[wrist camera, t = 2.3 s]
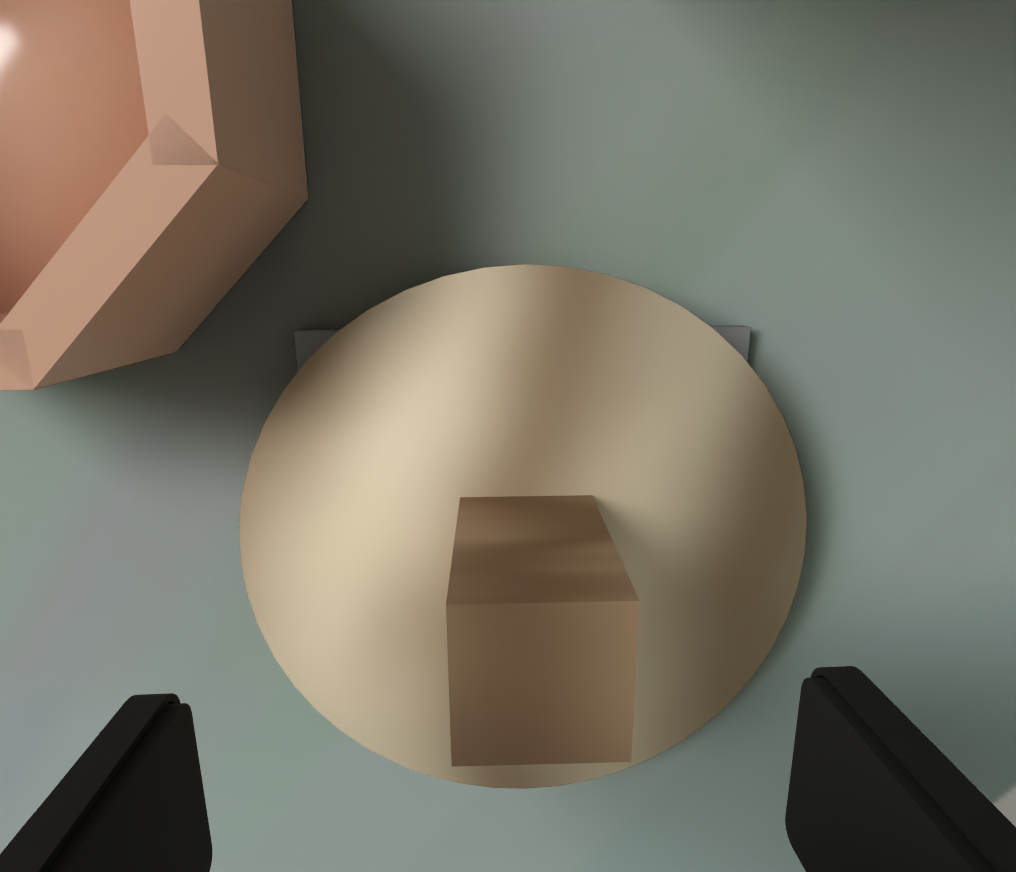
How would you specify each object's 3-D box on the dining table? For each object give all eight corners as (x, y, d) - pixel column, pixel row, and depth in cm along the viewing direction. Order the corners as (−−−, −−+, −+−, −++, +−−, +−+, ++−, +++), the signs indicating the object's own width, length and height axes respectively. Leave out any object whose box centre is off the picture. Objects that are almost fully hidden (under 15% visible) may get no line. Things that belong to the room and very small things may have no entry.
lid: (818, 262, 15) (1027, 259, 9) (760, 754, 19) (884, 976, 13) (222, 266, 15) (45, 265, 9) (282, 767, 18) (185, 1000, 12)
